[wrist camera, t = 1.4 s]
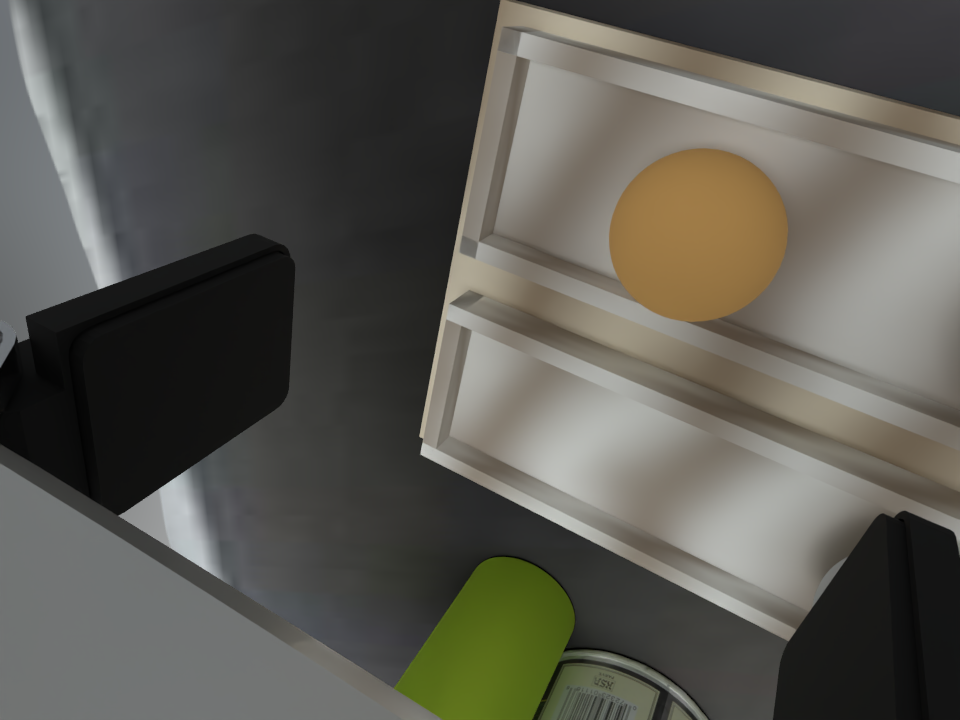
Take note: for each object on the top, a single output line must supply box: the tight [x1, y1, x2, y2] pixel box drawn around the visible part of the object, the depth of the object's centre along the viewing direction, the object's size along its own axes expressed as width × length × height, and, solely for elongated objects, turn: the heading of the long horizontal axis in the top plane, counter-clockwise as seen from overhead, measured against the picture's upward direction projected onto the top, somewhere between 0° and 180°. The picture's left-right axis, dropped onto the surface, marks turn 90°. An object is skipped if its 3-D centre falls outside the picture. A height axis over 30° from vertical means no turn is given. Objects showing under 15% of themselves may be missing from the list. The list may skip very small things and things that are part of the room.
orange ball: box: [609, 148, 788, 322], centre depth 20 cm, size 5×5×5 cm
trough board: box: [419, 0, 960, 641], centre depth 24 cm, size 24×19×3 cm
